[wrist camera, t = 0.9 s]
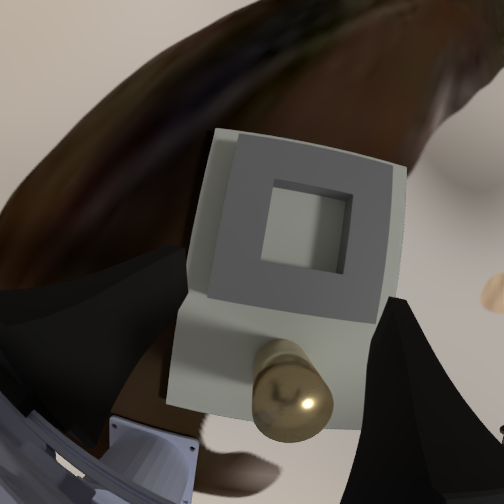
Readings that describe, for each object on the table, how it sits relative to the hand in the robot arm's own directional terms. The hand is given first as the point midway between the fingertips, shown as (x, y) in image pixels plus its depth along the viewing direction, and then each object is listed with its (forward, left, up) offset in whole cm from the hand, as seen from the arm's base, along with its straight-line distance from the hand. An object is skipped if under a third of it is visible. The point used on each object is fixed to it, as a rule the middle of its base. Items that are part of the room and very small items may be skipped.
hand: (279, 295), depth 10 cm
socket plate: (0, -2, -12) cm, 12 cm away
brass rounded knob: (-6, -2, -11) cm, 13 cm away
